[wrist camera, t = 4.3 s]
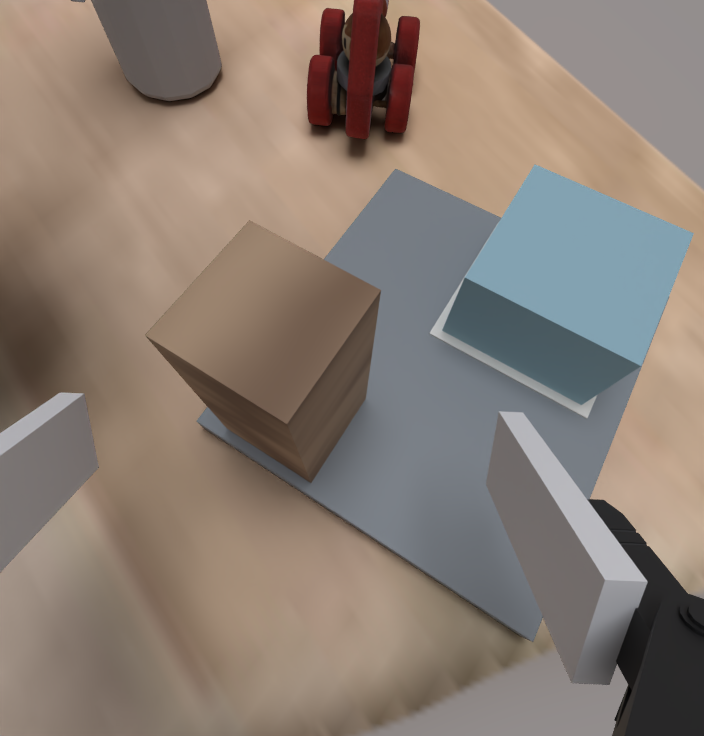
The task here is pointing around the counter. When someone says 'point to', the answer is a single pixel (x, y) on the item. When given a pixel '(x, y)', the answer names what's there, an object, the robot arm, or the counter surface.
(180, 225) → the counter surface
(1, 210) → the counter surface
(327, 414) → the walnut block
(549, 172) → the teal block
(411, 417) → the slate board
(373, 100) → the toy fire truck
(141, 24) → the water bottle
